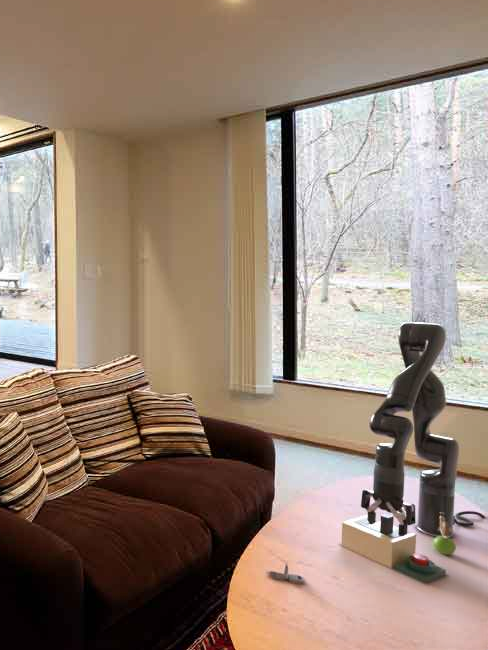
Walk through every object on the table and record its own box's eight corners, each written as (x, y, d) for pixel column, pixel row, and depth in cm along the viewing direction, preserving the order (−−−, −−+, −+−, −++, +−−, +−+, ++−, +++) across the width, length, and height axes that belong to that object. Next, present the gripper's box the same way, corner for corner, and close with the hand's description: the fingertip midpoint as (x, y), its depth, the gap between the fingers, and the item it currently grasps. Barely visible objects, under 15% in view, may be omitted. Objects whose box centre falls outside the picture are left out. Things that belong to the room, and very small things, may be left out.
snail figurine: (450, 549, 172) (452, 513, 171) (457, 559, 166) (460, 521, 165) (429, 546, 174) (431, 510, 173) (435, 555, 168) (437, 518, 167)
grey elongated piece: (302, 579, 157) (303, 565, 157) (303, 584, 154) (304, 570, 154) (269, 572, 161) (270, 559, 160) (270, 577, 158) (270, 563, 158)
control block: (414, 562, 165) (415, 551, 165) (445, 575, 158) (446, 563, 157) (394, 569, 161) (395, 558, 161) (425, 583, 154) (425, 571, 153)
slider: (386, 530, 168) (386, 513, 167) (392, 533, 166) (393, 516, 166) (379, 532, 167) (380, 515, 166) (386, 535, 165) (387, 518, 164)
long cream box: (364, 537, 180) (365, 514, 180) (415, 559, 167) (416, 534, 166) (341, 545, 176) (342, 521, 175) (391, 568, 162) (392, 542, 161)
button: (417, 558, 161) (417, 552, 161) (431, 564, 158) (431, 558, 158) (409, 560, 160) (410, 555, 160) (423, 566, 157) (424, 561, 157)
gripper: (422, 484, 160) (419, 537, 161) (372, 469, 173) (370, 517, 174) (407, 489, 157) (404, 542, 158) (357, 472, 170) (355, 522, 171)
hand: (386, 529), depth 166 cm, fingers open, 8 cm apart
